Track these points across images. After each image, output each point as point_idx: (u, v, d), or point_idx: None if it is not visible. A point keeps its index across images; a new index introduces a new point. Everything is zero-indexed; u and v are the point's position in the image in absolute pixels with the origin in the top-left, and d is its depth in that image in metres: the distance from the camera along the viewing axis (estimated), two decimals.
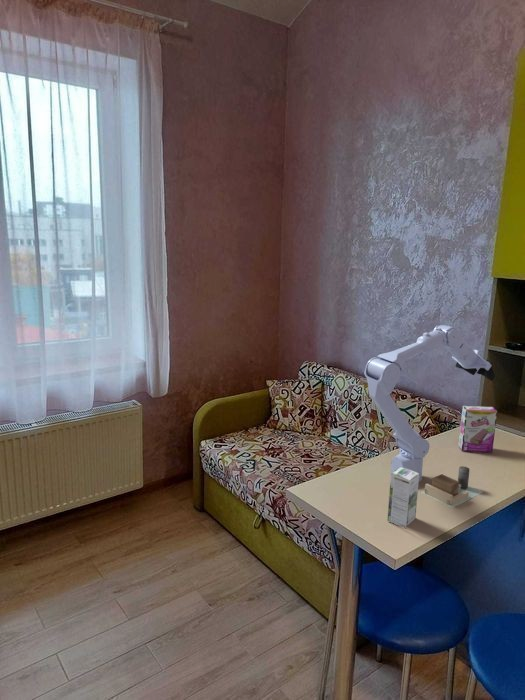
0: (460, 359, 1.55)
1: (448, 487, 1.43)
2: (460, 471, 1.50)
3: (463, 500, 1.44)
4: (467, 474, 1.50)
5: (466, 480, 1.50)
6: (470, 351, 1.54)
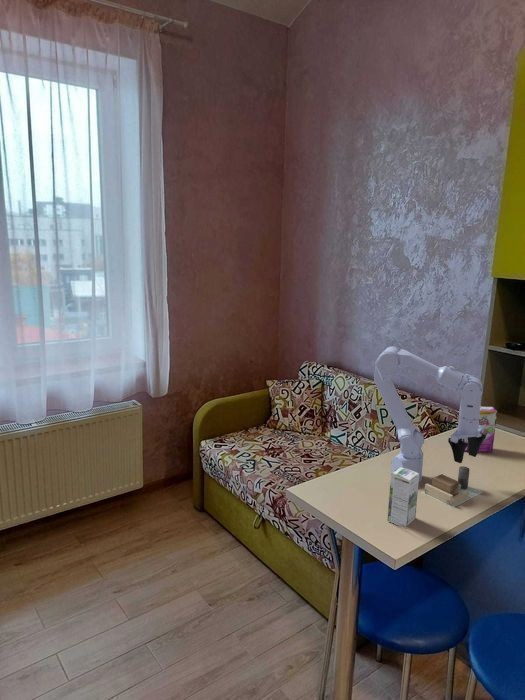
0: (459, 416, 1.49)
1: (448, 487, 1.43)
2: (460, 471, 1.50)
3: (463, 500, 1.44)
4: (467, 474, 1.50)
5: (466, 480, 1.50)
6: (466, 420, 1.45)
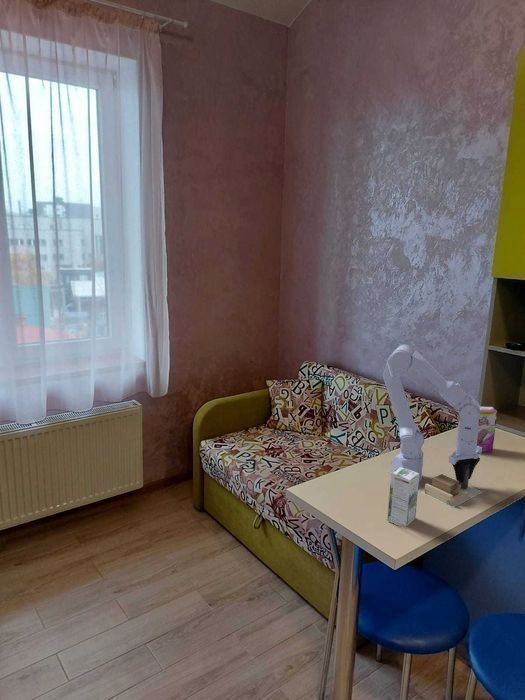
0: None
1: (448, 487, 1.43)
2: None
3: (463, 500, 1.44)
4: (467, 474, 1.50)
5: (466, 480, 1.50)
6: (464, 442, 1.46)
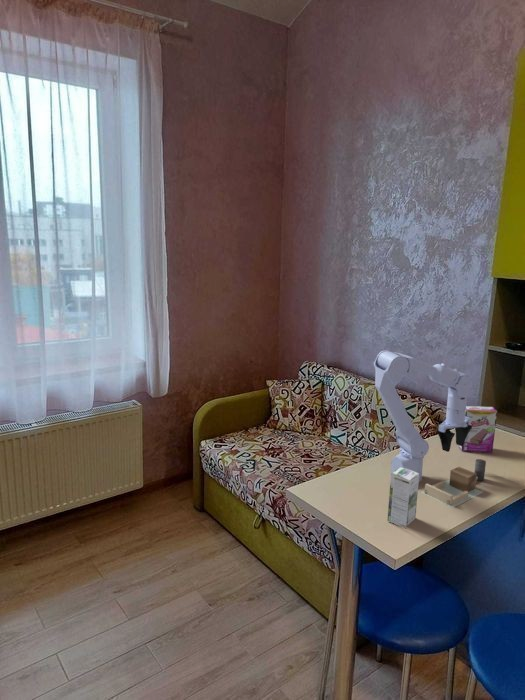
0: None
1: (466, 478, 1.48)
2: (477, 464, 1.55)
3: (463, 500, 1.44)
4: (483, 466, 1.55)
5: (482, 472, 1.55)
6: (453, 411, 1.55)
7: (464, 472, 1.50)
